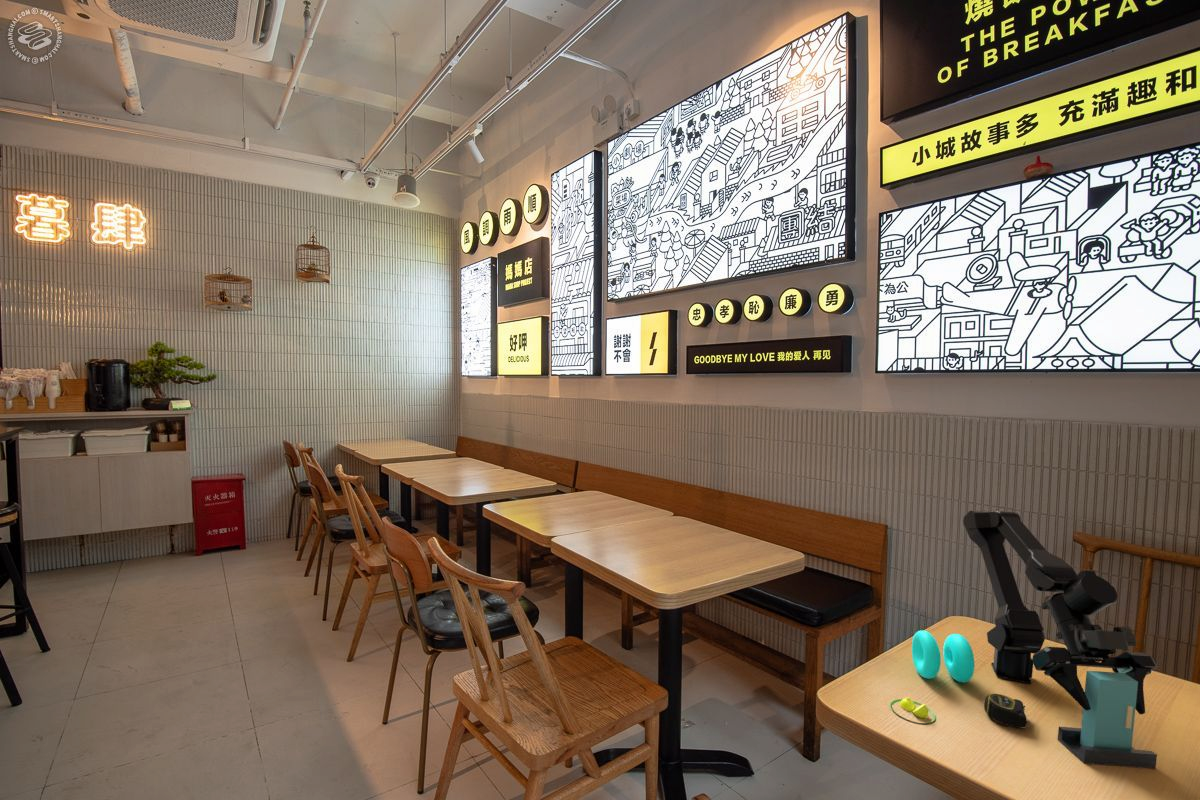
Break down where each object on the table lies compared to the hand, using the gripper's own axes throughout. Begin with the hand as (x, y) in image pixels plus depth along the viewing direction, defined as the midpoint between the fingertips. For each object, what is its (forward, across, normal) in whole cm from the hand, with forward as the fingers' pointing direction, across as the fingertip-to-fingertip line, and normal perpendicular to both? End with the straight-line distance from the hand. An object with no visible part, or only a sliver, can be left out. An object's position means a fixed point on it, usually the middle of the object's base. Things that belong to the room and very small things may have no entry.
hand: (1115, 711), depth 103 cm
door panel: (+5, 0, +7) cm, 8 cm away
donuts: (-11, -17, +24) cm, 32 cm away
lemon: (-1, -30, +14) cm, 33 cm away
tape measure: (-1, -12, +14) cm, 18 cm away
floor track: (+5, 0, +7) cm, 9 cm away
